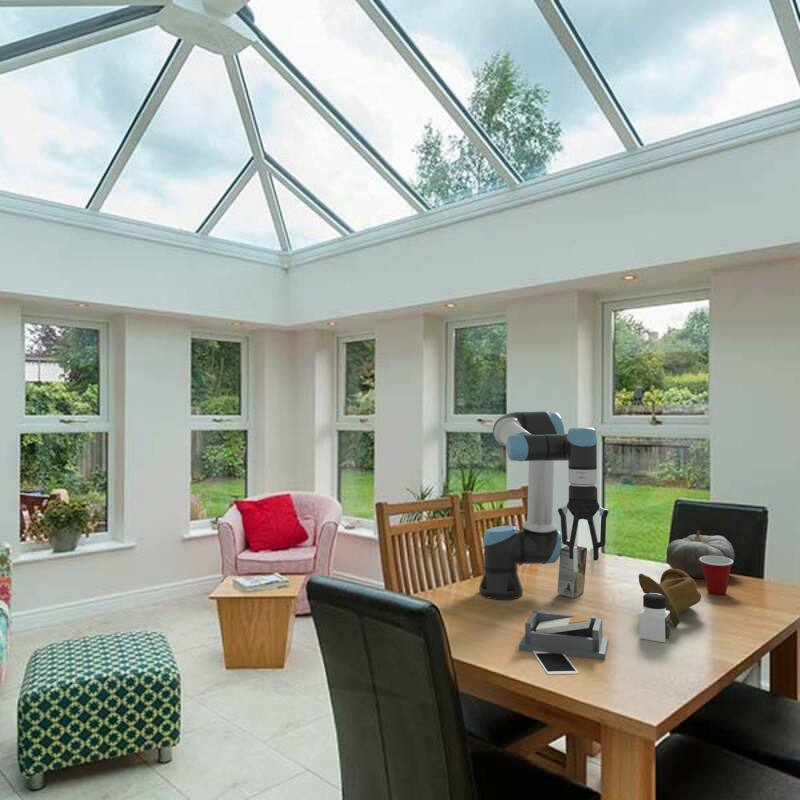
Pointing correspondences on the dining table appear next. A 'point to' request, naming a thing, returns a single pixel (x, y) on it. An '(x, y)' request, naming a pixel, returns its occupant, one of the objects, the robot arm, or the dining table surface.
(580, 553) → the coffee box
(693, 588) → the brown cowboy hat
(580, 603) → the dining table surface
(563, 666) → the cell phone
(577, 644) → the box
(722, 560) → the plastic cup
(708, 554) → the gourd
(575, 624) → the rocker
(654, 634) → the medicine bottle
